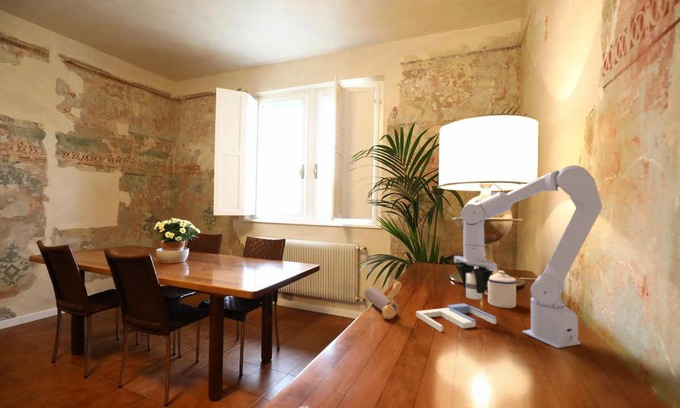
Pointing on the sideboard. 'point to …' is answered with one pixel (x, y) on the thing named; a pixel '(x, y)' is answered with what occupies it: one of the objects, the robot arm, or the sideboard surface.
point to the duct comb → (454, 316)
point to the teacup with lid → (502, 290)
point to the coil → (379, 299)
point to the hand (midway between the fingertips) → (474, 290)
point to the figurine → (389, 310)
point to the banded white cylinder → (472, 286)
